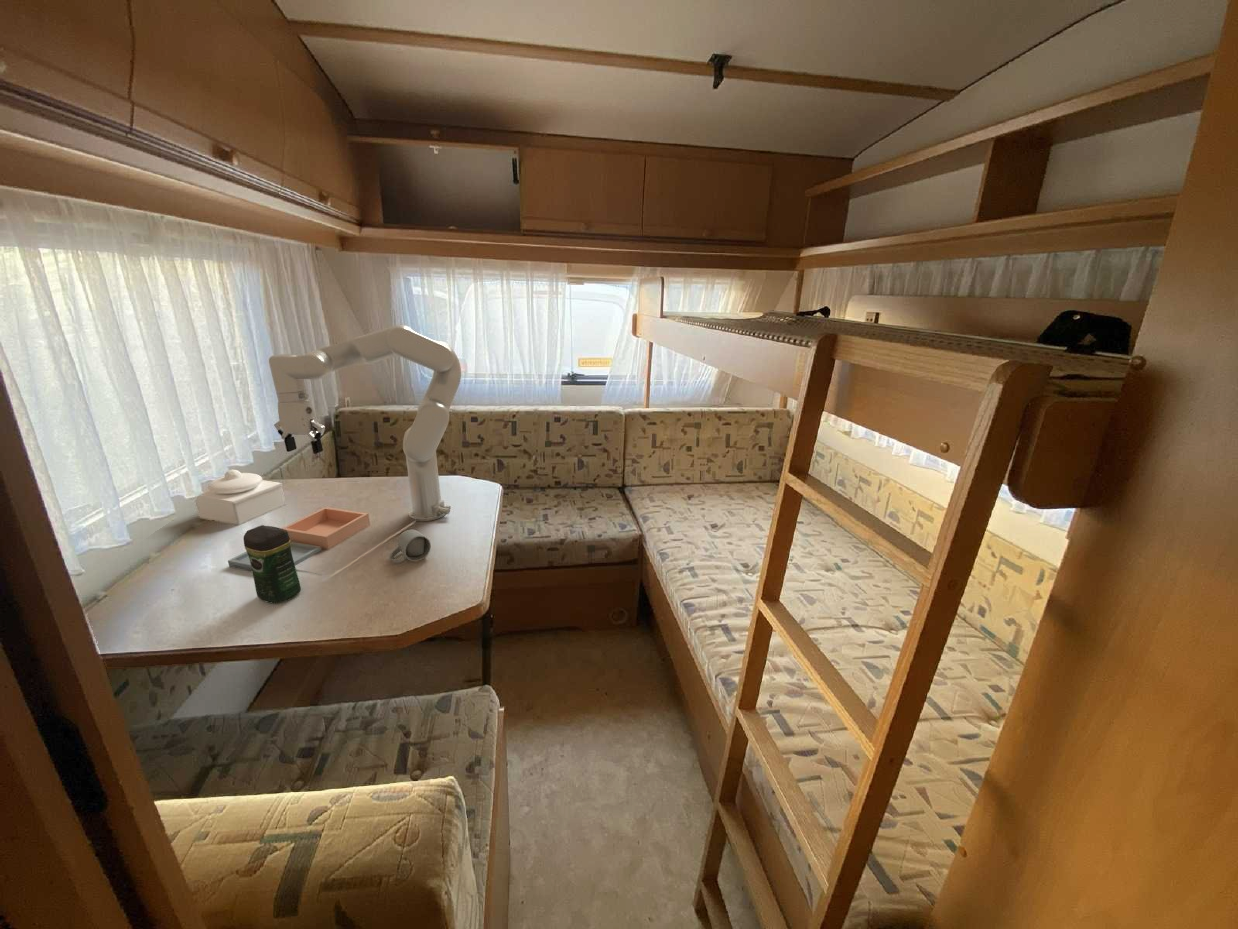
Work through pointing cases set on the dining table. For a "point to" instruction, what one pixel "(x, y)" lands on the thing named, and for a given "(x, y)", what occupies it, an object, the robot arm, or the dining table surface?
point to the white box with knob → (239, 498)
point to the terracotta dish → (327, 527)
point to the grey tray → (297, 550)
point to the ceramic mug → (411, 546)
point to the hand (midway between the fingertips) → (305, 451)
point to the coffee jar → (272, 563)
